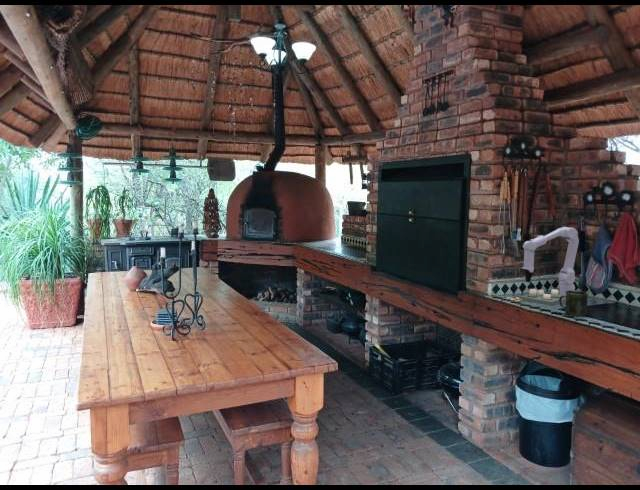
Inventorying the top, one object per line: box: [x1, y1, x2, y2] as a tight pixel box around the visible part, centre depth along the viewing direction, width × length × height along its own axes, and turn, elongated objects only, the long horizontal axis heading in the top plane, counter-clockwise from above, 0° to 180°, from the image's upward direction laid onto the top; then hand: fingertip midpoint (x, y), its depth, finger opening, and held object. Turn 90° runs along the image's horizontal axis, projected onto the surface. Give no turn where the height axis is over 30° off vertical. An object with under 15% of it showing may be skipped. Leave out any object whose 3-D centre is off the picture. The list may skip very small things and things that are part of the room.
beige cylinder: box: [536, 289, 545, 296], centre depth 314 cm, size 4×4×4 cm
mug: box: [558, 290, 589, 317], centre depth 272 cm, size 11×15×12 cm
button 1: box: [550, 288, 560, 298], centre depth 306 cm, size 4×4×4 cm
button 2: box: [543, 293, 551, 300], centre depth 301 cm, size 4×4×4 cm
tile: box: [506, 296, 524, 302], centre depth 310 cm, size 9×9×1 cm
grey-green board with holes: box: [519, 292, 566, 306], centre depth 308 cm, size 20×20×2 cm
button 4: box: [528, 288, 538, 297], centre depth 308 cm, size 4×4×4 cm
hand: (528, 282), depth 314 cm, fingers closed
